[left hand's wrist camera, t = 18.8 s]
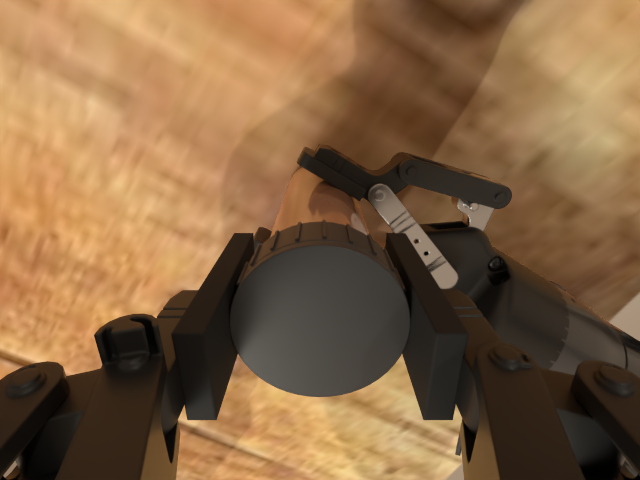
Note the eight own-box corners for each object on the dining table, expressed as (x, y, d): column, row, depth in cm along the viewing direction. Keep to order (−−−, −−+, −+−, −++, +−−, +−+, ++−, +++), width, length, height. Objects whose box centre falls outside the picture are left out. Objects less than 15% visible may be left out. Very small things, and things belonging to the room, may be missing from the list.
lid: (212, 254, 12) (191, 283, 10) (369, 193, 11) (379, 213, 9) (280, 373, 14) (273, 417, 12) (418, 329, 13) (434, 368, 11)
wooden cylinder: (328, 236, 26) (337, 392, 12) (275, 202, 25) (220, 330, 11) (365, 185, 25) (424, 297, 11) (310, 147, 24) (298, 217, 10)
